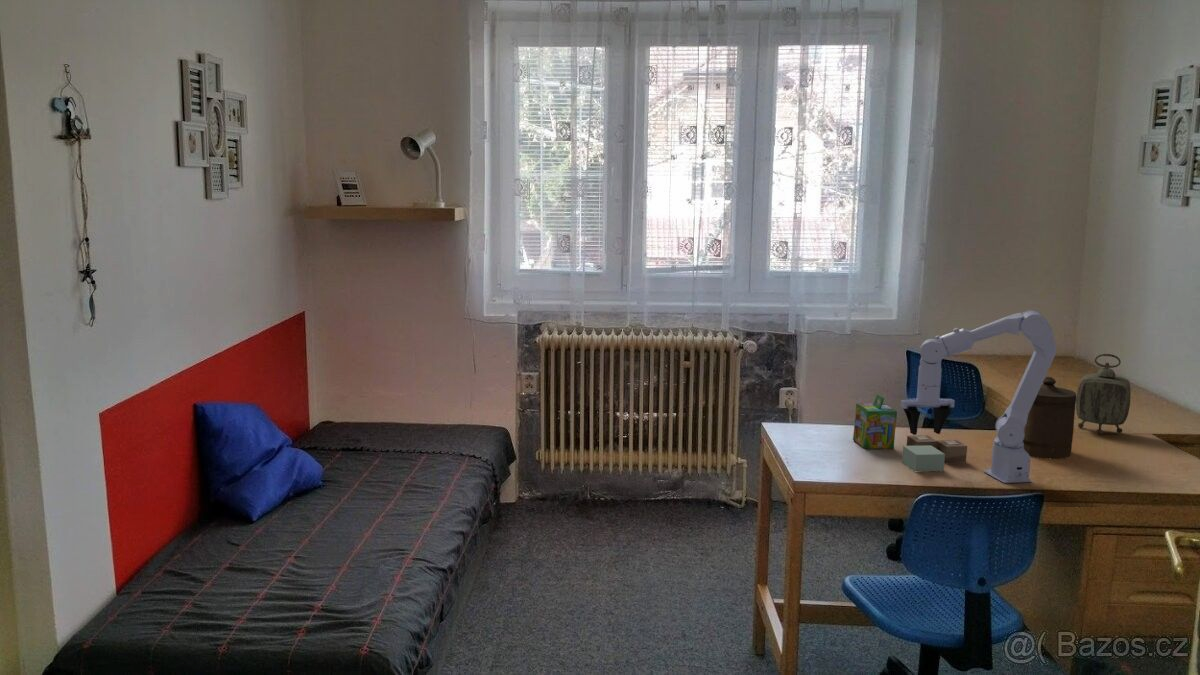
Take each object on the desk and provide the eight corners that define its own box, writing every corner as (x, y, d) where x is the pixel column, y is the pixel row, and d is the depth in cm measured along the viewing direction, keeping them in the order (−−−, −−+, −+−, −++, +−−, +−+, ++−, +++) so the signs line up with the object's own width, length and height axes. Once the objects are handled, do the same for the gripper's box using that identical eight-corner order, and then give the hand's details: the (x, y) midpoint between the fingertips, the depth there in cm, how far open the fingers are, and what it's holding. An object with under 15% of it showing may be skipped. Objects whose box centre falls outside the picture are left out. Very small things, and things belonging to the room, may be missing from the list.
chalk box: (852, 440, 265) (855, 392, 262) (881, 440, 266) (885, 392, 263) (864, 449, 256) (867, 400, 253) (895, 449, 257) (898, 399, 254)
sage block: (943, 472, 237) (945, 454, 236) (914, 472, 237) (916, 454, 236) (929, 462, 245) (931, 445, 244) (901, 463, 244) (903, 445, 243)
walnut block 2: (965, 463, 245) (967, 445, 244) (945, 464, 244) (946, 445, 243) (954, 456, 251) (955, 439, 250) (934, 457, 250) (935, 439, 249)
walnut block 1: (936, 458, 249) (937, 440, 248) (915, 458, 248) (917, 441, 247) (925, 452, 255) (927, 434, 254) (906, 452, 254) (907, 435, 253)
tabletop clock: (1126, 433, 277) (1135, 354, 272) (1125, 440, 269) (1135, 359, 265) (1074, 426, 284) (1082, 349, 280) (1072, 432, 276) (1080, 354, 272)
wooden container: (1030, 441, 266) (1037, 369, 262) (1080, 453, 254) (1088, 379, 251) (1003, 449, 258) (1010, 375, 254) (1054, 462, 246) (1062, 385, 242)
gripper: (946, 380, 242) (942, 428, 244) (896, 381, 240) (892, 430, 242) (960, 386, 235) (956, 435, 237) (909, 387, 233) (905, 437, 235)
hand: (925, 433), depth 239 cm, fingers open, 6 cm apart
